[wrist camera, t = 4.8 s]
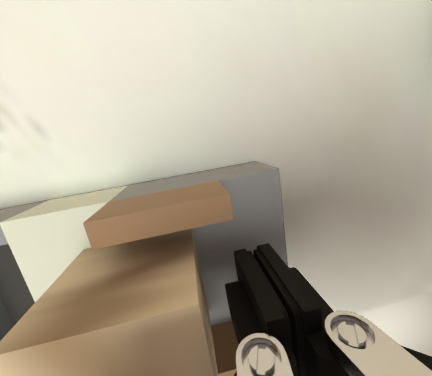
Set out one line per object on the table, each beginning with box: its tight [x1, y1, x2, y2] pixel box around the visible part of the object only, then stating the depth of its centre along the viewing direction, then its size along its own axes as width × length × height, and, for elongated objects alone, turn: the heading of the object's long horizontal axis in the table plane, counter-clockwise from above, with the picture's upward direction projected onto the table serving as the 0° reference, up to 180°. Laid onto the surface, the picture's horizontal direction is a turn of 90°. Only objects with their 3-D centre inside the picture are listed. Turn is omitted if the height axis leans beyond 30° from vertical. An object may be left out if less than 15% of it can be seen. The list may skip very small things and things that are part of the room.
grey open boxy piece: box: [0, 162, 288, 376], centre depth 11 cm, size 18×9×6 cm, turn 99°
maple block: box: [0, 228, 218, 376], centre depth 8 cm, size 5×5×5 cm
